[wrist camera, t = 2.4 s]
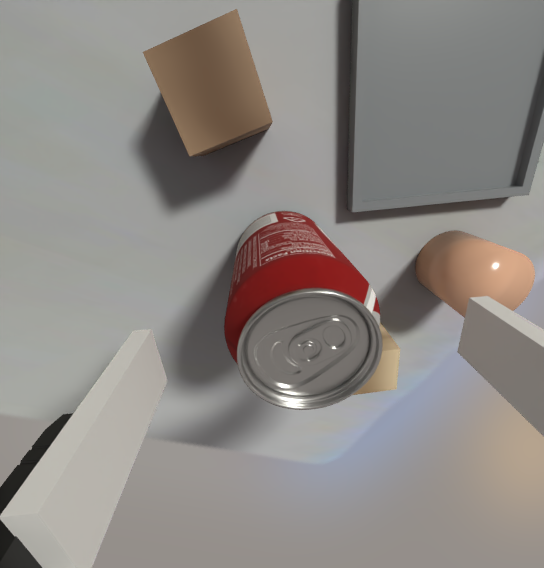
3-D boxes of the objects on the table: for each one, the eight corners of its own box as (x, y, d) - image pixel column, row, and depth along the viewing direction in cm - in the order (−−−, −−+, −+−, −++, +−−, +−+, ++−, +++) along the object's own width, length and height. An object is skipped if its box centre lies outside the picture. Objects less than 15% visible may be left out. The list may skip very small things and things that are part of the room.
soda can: (219, 238, 21) (181, 332, 10) (301, 190, 20) (360, 236, 9) (265, 308, 23) (275, 442, 13) (340, 269, 22) (422, 378, 12)
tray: (347, 209, 20) (352, 212, 19) (352, -22, 15) (360, -35, 14) (514, 192, 21) (528, 194, 20) (574, -40, 16) (598, -55, 14)
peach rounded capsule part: (411, 292, 24) (449, 325, 19) (419, 233, 22) (463, 255, 17) (470, 286, 24) (522, 318, 19) (484, 227, 22) (545, 246, 17)
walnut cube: (203, 155, 19) (189, 156, 15) (169, 76, 17) (142, 52, 13) (268, 128, 18) (272, 122, 14) (241, 44, 16) (236, 9, 12)
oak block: (312, 365, 26) (322, 399, 23) (310, 329, 25) (319, 359, 21) (376, 356, 26) (396, 389, 23) (378, 320, 25) (400, 348, 21)
